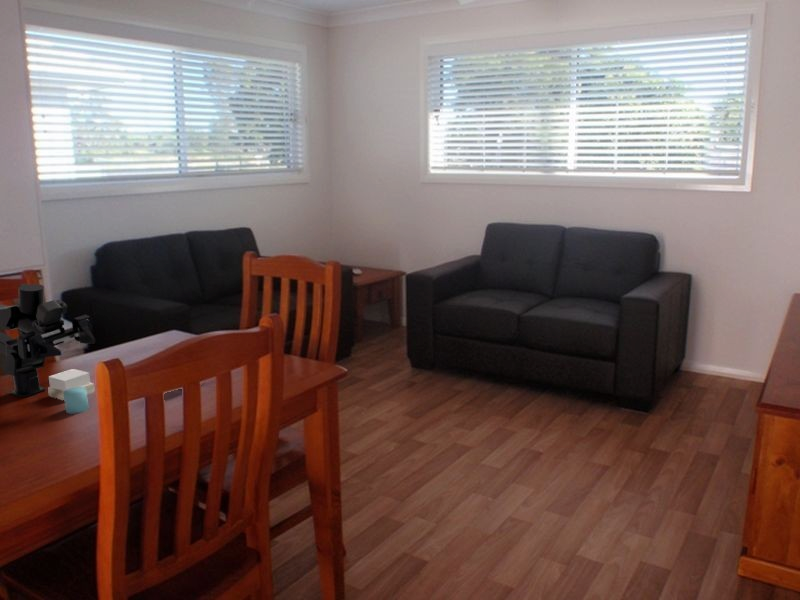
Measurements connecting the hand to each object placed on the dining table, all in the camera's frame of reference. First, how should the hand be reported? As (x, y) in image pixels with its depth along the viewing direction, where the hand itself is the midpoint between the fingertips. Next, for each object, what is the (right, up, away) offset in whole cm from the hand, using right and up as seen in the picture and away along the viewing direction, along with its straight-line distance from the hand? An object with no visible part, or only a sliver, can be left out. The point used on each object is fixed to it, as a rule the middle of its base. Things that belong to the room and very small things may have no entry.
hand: (78, 347), depth 172 cm
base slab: (-8, -14, +15) cm, 22 cm away
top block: (-9, -11, +14) cm, 20 cm away
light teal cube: (-2, -16, +4) cm, 17 cm away
